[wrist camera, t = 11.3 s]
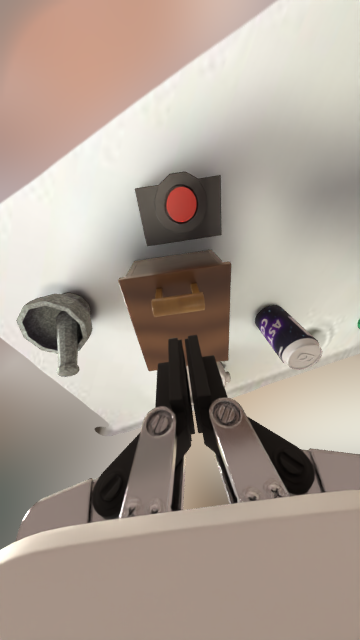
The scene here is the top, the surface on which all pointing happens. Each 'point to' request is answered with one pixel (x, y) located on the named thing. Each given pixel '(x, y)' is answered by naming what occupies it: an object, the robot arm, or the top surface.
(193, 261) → the brown open box
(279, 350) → the beverage can
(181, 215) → the button
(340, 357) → the top surface
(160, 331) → the wooden box lid
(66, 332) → the mortar and pestle
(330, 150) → the top surface
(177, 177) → the control block
